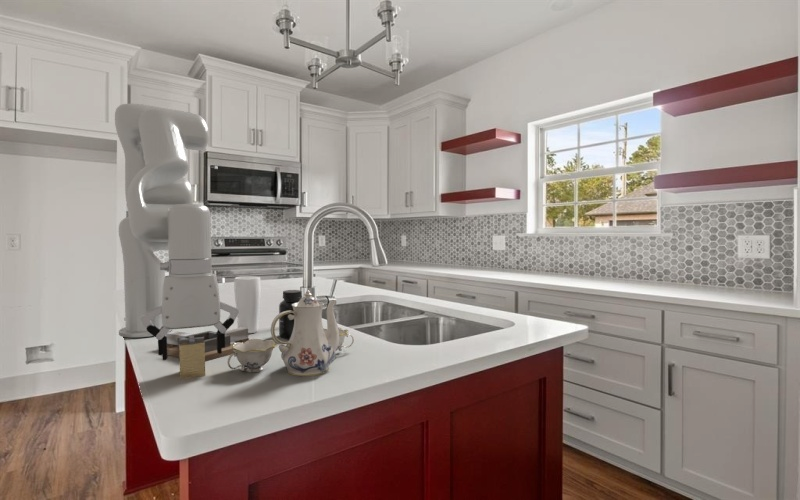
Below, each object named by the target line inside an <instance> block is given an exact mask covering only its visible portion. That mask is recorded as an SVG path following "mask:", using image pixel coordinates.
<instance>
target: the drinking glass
mask: <svg viewBox="0 0 800 500" xmlns="http://www.w3.org/2000/svg"><path fill="white" fill-rule="evenodd" d="M261 282H262V281H261V276H253V275H249V276H247V275H246V276H245V275H244V276H236V277H234V282H233V284H234V287H233V288H234V291H233V292H234V301H235V308H237V309H238V310H239V313H238V315H237V317H236V319H237V328H241V327H243V328H248V335H250V334H254V333H255V334H256V333H257V332H258V331H259V320H260V308H261V307H260V306H261V293H262V291H261V289H262V283H261Z"/></svg>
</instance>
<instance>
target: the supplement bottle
mask: <svg viewBox="0 0 800 500" xmlns="http://www.w3.org/2000/svg"><path fill="white" fill-rule="evenodd" d="M302 293H303V292H302V290H300V289H287V290H283V291H282V299H283V300H282V301H281V302H280V303H279V305H278V314H280V313H281V312H284V311H289V310H291V311H294V310H293V306H292V304H294V303H298V302H299V300H300V299H301V298H302V297H303V296H302ZM289 314H291V315H294V314H293V313H288V314H285V315H283V316H281V317H280V318H279V319H278V335H279V337H280V338H281V339H285V340H286V339H288V340H290V338H291V335H292V332H293V328H294V319H292V320H289V318H288V315H289Z"/></svg>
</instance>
